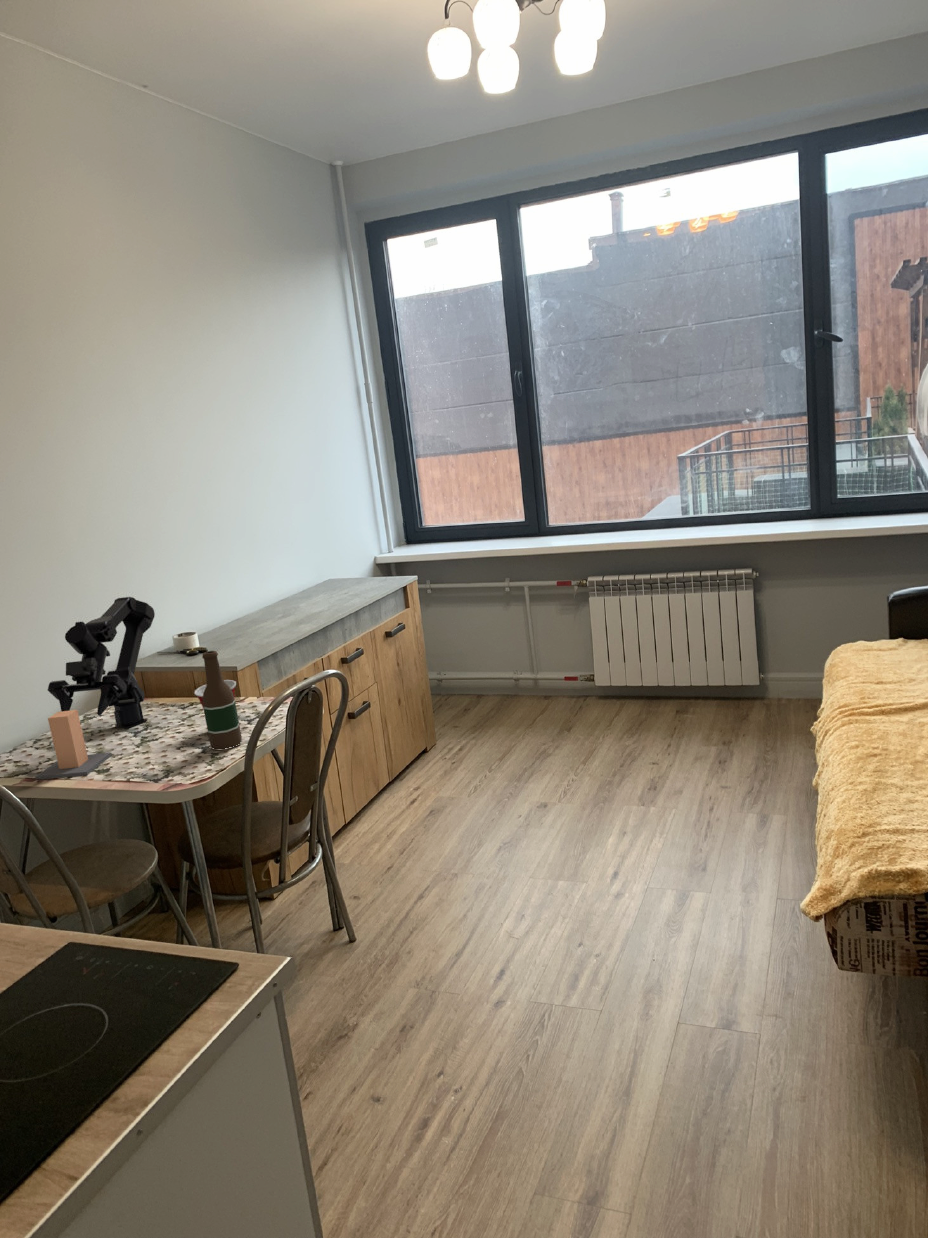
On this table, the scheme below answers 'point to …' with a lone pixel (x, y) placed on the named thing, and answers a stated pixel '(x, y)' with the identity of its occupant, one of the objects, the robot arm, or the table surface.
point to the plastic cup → (201, 689)
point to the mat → (84, 769)
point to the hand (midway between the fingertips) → (81, 716)
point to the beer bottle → (219, 706)
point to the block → (68, 739)
